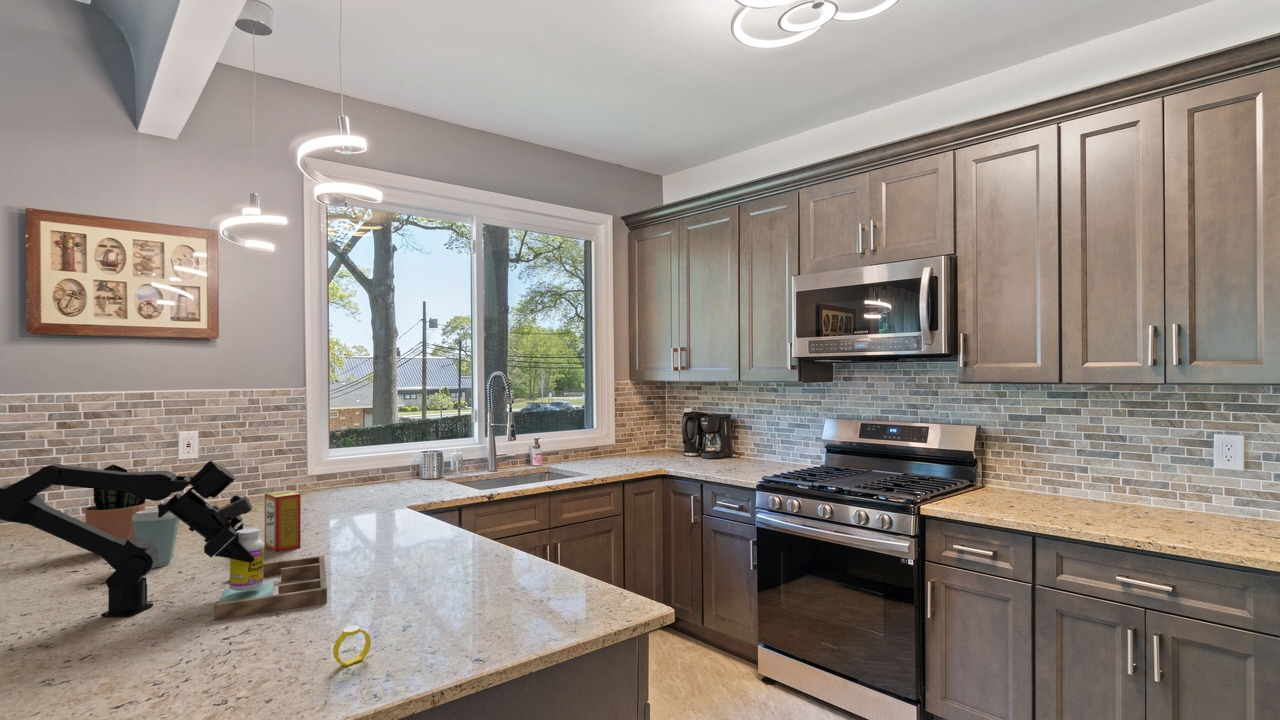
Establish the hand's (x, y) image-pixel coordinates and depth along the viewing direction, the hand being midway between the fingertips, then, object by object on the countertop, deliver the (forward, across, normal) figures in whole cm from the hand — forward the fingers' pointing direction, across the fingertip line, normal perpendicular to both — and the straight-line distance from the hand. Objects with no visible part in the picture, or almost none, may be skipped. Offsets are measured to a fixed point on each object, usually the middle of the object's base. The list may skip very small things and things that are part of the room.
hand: (254, 557), depth 148 cm
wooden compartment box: (+9, 0, +3) cm, 9 cm away
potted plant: (-21, +63, +34) cm, 74 cm away
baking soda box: (+9, +43, +3) cm, 44 cm away
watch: (+19, -50, -7) cm, 54 cm away
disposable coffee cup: (-11, +39, +24) cm, 47 cm away
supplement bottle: (+4, 0, +6) cm, 7 cm away
